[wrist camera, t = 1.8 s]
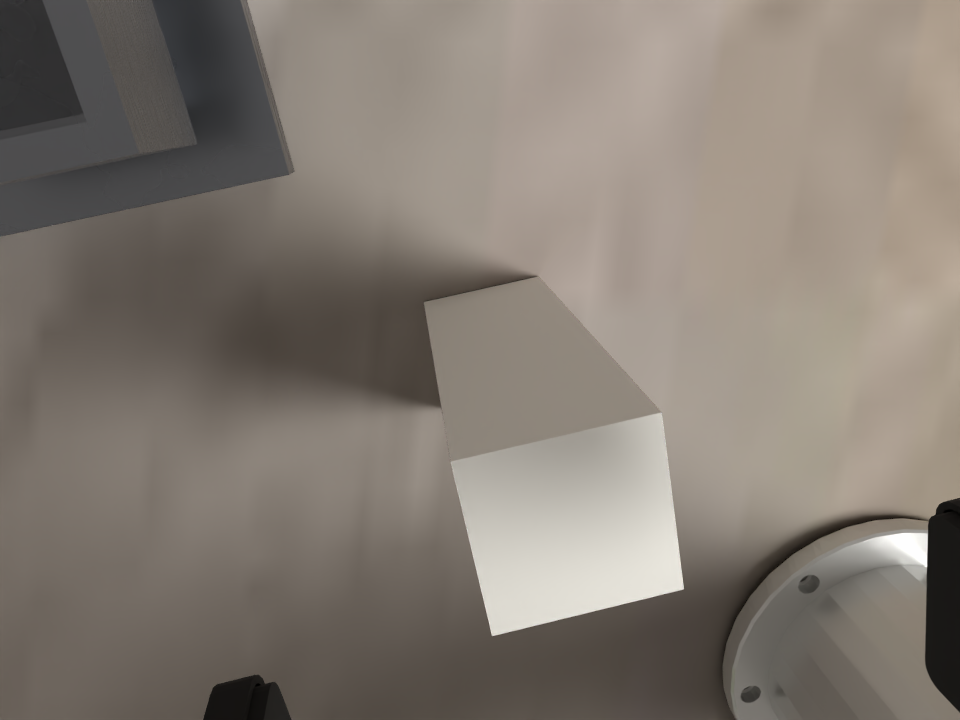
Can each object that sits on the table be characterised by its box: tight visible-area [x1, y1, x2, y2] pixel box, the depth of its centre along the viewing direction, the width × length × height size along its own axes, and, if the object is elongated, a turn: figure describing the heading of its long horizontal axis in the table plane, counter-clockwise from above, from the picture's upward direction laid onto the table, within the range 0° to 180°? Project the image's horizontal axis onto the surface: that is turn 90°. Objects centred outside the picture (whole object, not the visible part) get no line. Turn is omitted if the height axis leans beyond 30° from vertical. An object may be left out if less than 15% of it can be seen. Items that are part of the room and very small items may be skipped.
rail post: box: [424, 276, 684, 636], centre depth 20 cm, size 4×4×12 cm
